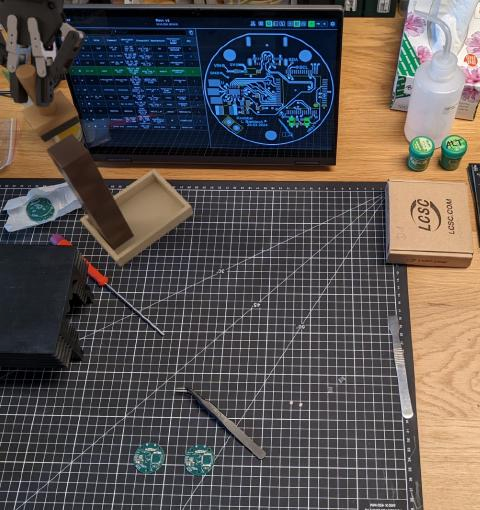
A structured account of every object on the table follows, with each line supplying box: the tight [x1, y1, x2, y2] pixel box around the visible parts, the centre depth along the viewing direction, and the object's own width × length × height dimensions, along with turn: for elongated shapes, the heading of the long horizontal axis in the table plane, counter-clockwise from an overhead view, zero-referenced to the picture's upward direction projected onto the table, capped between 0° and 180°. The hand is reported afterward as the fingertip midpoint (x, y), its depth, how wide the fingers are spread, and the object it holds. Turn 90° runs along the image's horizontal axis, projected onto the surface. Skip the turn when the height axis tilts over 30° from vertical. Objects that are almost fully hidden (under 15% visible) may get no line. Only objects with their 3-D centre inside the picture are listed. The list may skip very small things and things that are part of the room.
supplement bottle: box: [52, 124, 83, 144], centre depth 121 cm, size 5×5×10 cm
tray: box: [79, 168, 194, 267], centre depth 116 cm, size 17×12×4 cm
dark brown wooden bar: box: [45, 134, 134, 250], centre depth 103 cm, size 4×4×26 cm
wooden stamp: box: [16, 63, 81, 143], centre depth 82 cm, size 6×4×10 cm, turn 131°
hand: (32, 104), depth 80 cm, fingers closed on wooden stamp, 2 cm apart
